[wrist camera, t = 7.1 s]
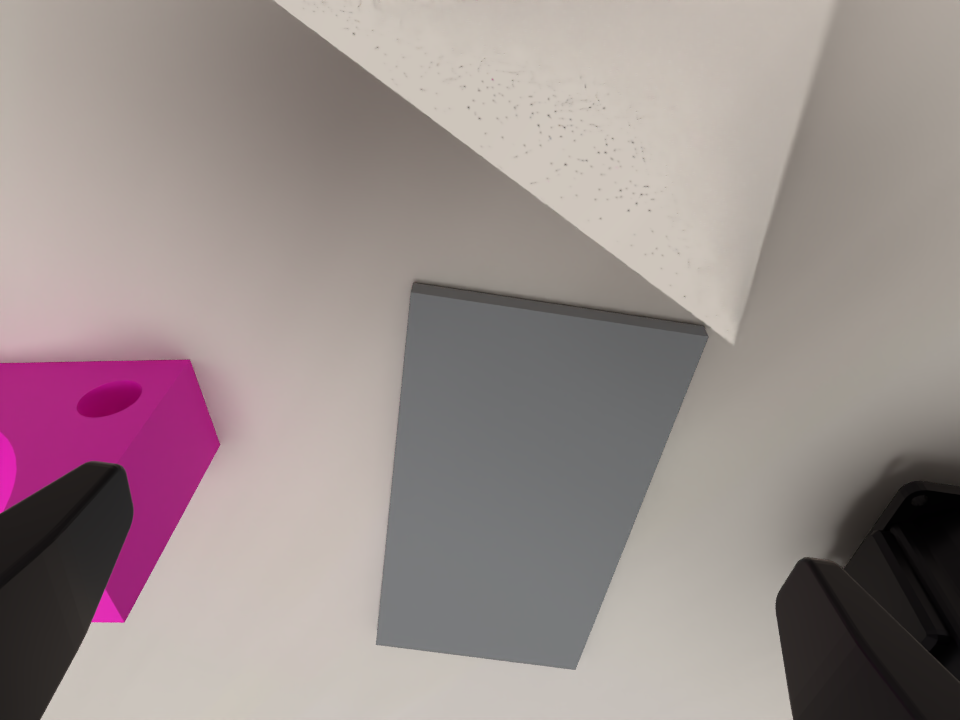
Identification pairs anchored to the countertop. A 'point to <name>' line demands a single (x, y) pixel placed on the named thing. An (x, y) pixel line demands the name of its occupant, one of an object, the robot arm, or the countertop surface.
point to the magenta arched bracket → (109, 447)
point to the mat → (521, 469)
